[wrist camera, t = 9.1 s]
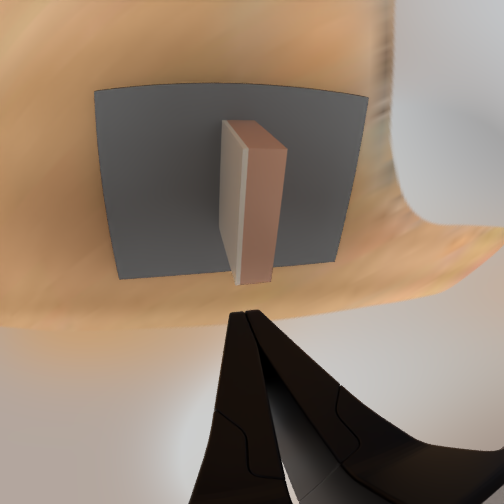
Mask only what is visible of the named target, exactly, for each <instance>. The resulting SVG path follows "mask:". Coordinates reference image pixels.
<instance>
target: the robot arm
mask: <svg viewBox="0 0 504 504" xmlns="http://www.w3.org/2000/svg"><path fill="white" fill-rule="evenodd" d="M281 459H282V460H281ZM282 462H283V464H284V467H285V469H286V472H287V474H288V477H289V479H290V482H291V484H292V487H293V489H294V491H295V494H296V496H297V499H298V501H300V502H299V504H504V447H502V448H501V449H500V450H497V451H478V450H469V449H459V448H451V447H444V446H436V445H431V444H427V443H424V442H422V441H419V440H417V439H415V438H413V437H412V436H410V435H408V434H407V433H405V432H404V431H402V430H401V429H399V428H398V427H396V426H395V425H393V424H392V423H390V422H388V421H387V420H386V419H384V418H382V417H381V416H380V415H378V414H377V413H375V412H374V411H373V410H371V409H370V408H368V407H367V406H366V405H364V404H363V403H362V402H361V401H359V400H358V399H357V398H356V397H355V396H353V395H352V394H351V393H350V392H349V391H348V390H346V389H345V388H344V387H343V386H342V385H341V386H340V384H339V383H338V382H337V381H336V380H335V379H334V378H333V377H332V376H330V375H329V374H328V373H327V372H326V371H325V370H324V369H323V368H322V367H321V366H319V365H318V364H317V363H316V362H315V361H314V360H313V359H312V358H311V357H310V356H308V355H307V354H306V353H305V352H304V351H303V350H302V349H301V348H300V347H299V346H297V345H296V344H295V343H294V342H293V341H292V340H291V339H290V338H289V337H287V335H286V334H284V333H283V332H282V331H281V330H280V329H279V328H278V327H277V326H276V325H275V324H274V323H273V322H272V321H271V320H269V319H268V318H267V317H266V316H265V315H264V314H263V313H262V312H261V311H260V310H249V311H245V313H244V312H243V311H241V312H232V313H230V315H229V320H228V326H227V332H226V339H225V345H224V351H223V357H222V364H221V370H220V376H219V383H218V389H217V395H216V402H215V408H214V413H213V420H212V426H211V431H210V436H209V441H208V444H207V448H206V451H205V456H204V459H203V461H202V465H201V468H200V471H199V474H198V477H197V480H196V483H195V486H194V489H193V492H192V495H191V498H190V501H189V503H188V504H293V503H292V501H291V498H290V495H289V492H288V488H287V484H286V481H285V474H284V470H283V465H282Z"/></svg>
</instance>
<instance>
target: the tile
mask: <svg viewBox="0 0 504 504" xmlns="http://www.w3.org/2000/svg"><path fill="white" fill-rule="evenodd" d="M287 150H288V149H287V148H286V147H285V146H284V145H283V144H281V143H280V142H279V141H278V140H277V139H276V138H275V137H273V136H272V135H271V134H270V133H269V132H268V131H267V130H265V129H264V128H263V127H262V126H261V125H260V124H258V123H257V122H256V121H255V120H222V134H221V161H220V195H219V230H220V233H221V237H222V240H223V244H224V247H225V251H226V254H227V258H228V261H229V265H230V268H231V272H232V275H233V279H234V282H235V285H244V284H254V283H265V282H271V278H272V270H273V263H274V255H275V248H276V240H277V232H278V224H279V216H280V208H281V200H282V192H283V184H284V175H285V167H286V158H287Z"/></svg>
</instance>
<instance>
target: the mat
mask: <svg viewBox="0 0 504 504" xmlns="http://www.w3.org/2000/svg"><path fill="white" fill-rule="evenodd" d="M94 97H95V116H96V131H97V142H98V153H99V162H100V171H101V179H102V187H103V194H104V201H105V207H106V213H107V220H108V225H109V231H110V237H111V242H112V247H113V252H114V257H115V262H116V267H117V271H118V276H119V280H121V279H135V278H148V277H162V276H175V275H188V274H201V273H213V272H225V271H231V268H230V265H229V261H228V258H227V254H226V251H225V247H224V244H223V240H222V237H221V233H220V230H219V195H220V161H221V134H222V120H255V121H256V122H257V123H258V124H260V125H261V126H262V127H263V128H264V129H265V130H267V131H268V132H269V133H270V134H271V135H272V136H273V137H275V138H276V139H277V140H278V141H279V142H280V143H281V144H283V145H284V146H285V147H286V148H287V149H288V150H287V158H286V167H285V175H284V184H283V192H282V200H281V208H280V216H279V224H278V232H277V240H276V248H275V255H274V263H273V267H283V266H294V265H305V264H315V263H326V262H335V258H336V254H337V251H338V247H339V243H340V238H341V234H342V230H343V226H344V222H345V218H346V213H347V209H348V204H349V200H350V195H351V191H352V186H353V181H354V177H355V172H356V167H357V162H358V156H359V151H360V146H361V140H362V135H363V129H364V123H365V118H366V111H367V105H368V99H369V98H368V97H365V96H359V95H353V94H347V93H340V92H333V91H326V90H318V89H310V88H301V87H290V86H278V85H264V84H243V83H179V84H159V85H144V86H133V87H123V88H114V89H105V90H98V91H95V92H94Z"/></svg>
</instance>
